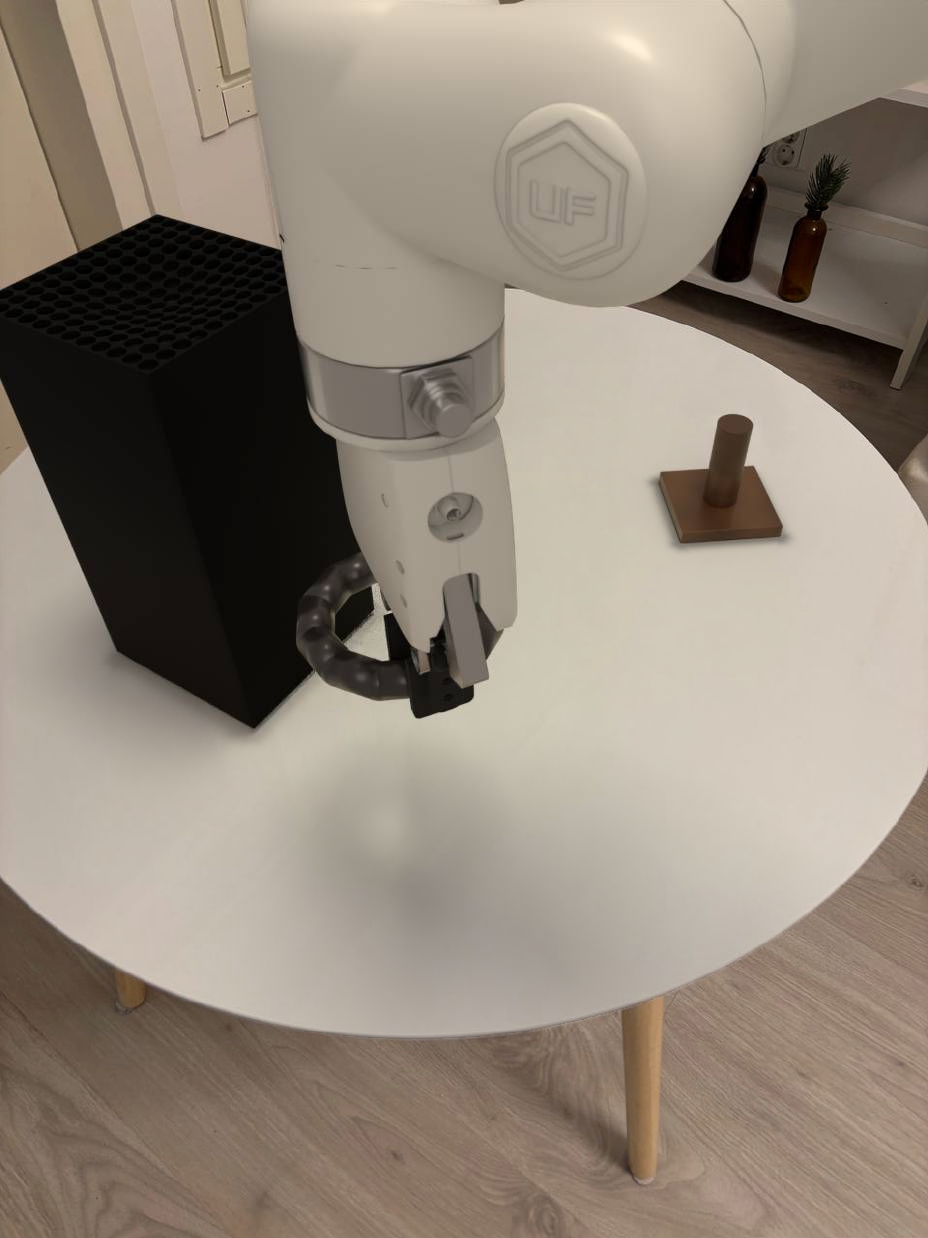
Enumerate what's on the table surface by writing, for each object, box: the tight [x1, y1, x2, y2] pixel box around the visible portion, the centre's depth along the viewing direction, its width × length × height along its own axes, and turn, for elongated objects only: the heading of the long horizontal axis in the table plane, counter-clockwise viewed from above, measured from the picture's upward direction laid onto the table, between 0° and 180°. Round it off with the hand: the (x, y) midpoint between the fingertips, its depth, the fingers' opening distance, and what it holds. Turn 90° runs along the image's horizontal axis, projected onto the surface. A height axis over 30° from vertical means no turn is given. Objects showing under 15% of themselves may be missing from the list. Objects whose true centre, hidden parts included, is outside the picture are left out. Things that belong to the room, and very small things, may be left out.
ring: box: [296, 551, 505, 702], centre depth 50 cm, size 11×11×2 cm
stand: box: [658, 413, 784, 544], centre depth 83 cm, size 9×9×9 cm
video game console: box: [0, 213, 375, 730], centre depth 66 cm, size 15×15×30 cm
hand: (431, 682), depth 48 cm, fingers closed on ring, 2 cm apart
